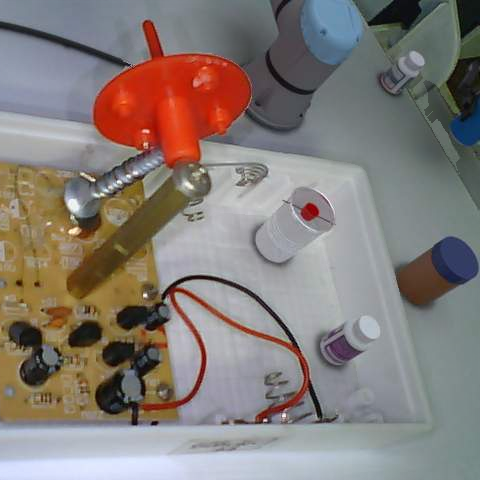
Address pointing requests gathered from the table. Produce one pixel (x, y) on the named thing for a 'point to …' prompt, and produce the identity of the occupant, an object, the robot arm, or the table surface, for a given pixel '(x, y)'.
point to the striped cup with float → (295, 224)
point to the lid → (455, 260)
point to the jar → (423, 281)
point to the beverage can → (467, 128)
